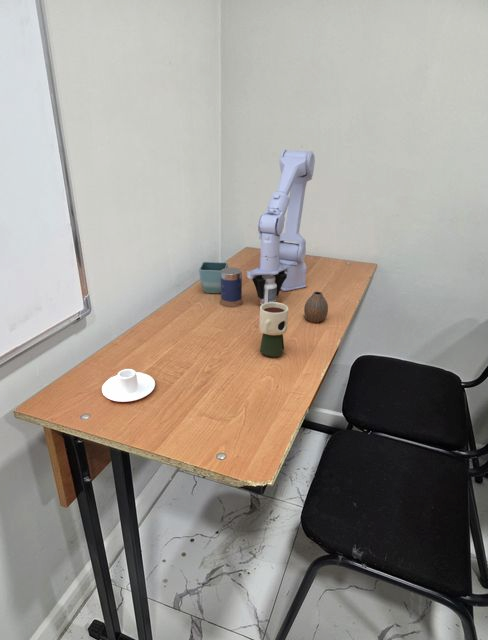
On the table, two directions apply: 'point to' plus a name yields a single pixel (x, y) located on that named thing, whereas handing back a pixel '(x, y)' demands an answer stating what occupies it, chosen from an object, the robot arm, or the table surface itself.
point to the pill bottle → (269, 289)
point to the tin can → (231, 287)
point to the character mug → (273, 328)
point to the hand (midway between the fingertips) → (268, 296)
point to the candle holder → (128, 386)
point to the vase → (316, 308)
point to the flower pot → (211, 276)
